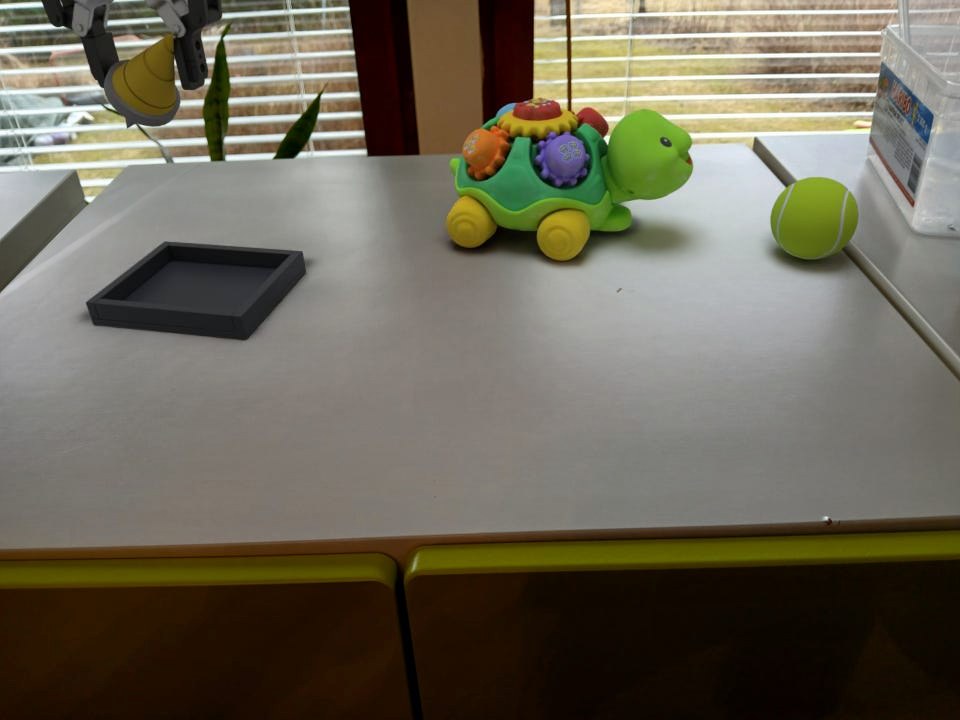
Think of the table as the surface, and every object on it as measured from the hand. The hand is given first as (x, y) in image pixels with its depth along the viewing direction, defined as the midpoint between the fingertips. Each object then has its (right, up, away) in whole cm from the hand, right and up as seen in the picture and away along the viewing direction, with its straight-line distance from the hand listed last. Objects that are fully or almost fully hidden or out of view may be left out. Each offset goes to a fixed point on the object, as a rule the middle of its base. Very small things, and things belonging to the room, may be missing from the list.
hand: (152, 86), depth 60 cm
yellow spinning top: (0, -2, +2) cm, 3 cm away
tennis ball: (+54, -12, +10) cm, 56 cm away
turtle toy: (+33, -8, +17) cm, 38 cm away
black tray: (+1, -15, +7) cm, 17 cm away
